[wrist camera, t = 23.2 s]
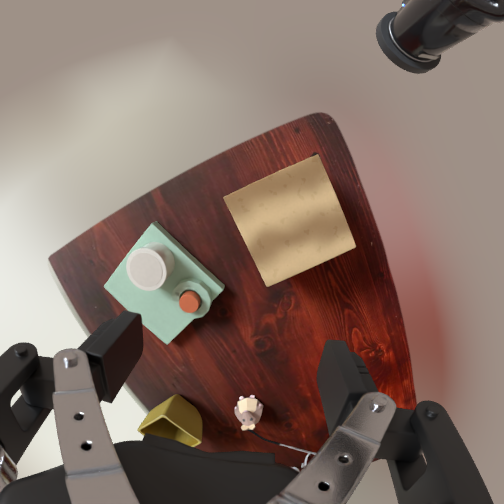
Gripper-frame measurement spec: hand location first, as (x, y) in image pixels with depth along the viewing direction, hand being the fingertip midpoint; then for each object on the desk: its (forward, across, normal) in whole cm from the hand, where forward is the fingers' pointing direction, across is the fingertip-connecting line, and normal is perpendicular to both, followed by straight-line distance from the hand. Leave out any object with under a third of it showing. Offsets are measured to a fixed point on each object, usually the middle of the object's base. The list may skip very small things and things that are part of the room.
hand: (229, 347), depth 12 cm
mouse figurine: (+30, -4, +34) cm, 46 cm away
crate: (+30, -4, -3) cm, 31 cm away
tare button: (+27, +7, +11) cm, 30 cm away
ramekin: (+28, +13, +6) cm, 32 cm away
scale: (+30, +13, +10) cm, 34 cm away
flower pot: (+30, +10, +36) cm, 48 cm away
